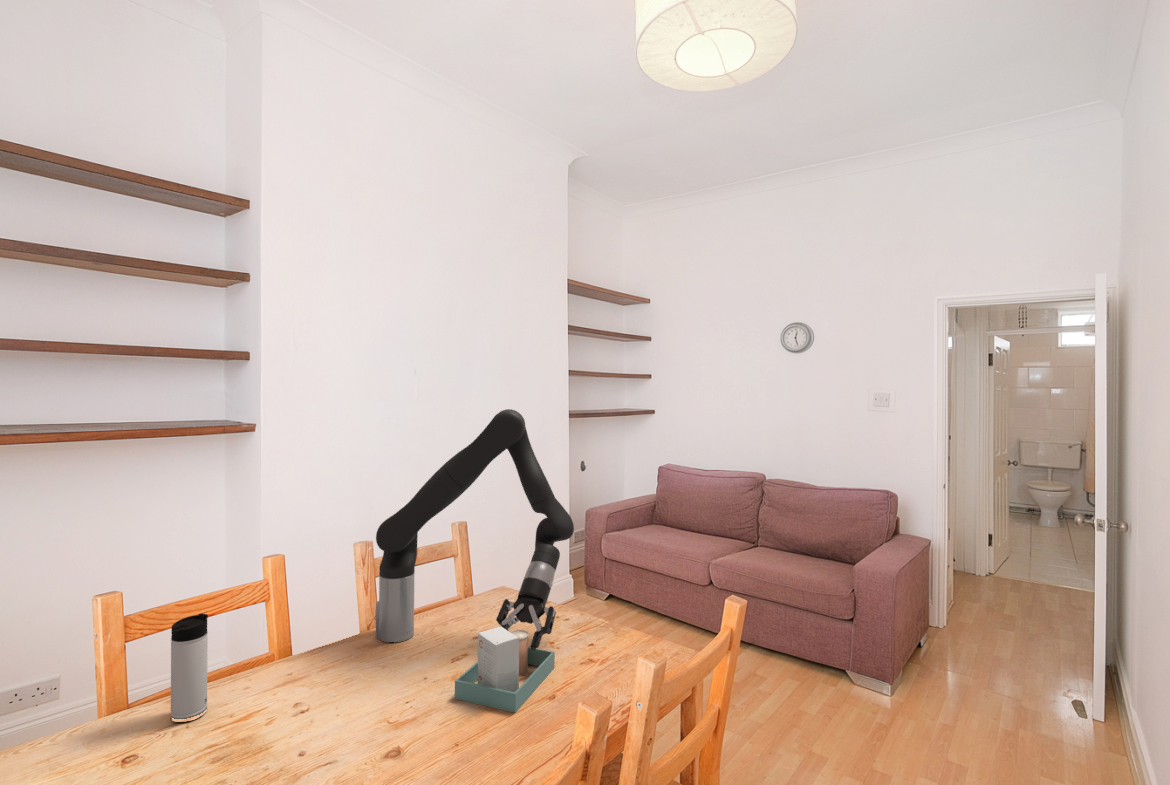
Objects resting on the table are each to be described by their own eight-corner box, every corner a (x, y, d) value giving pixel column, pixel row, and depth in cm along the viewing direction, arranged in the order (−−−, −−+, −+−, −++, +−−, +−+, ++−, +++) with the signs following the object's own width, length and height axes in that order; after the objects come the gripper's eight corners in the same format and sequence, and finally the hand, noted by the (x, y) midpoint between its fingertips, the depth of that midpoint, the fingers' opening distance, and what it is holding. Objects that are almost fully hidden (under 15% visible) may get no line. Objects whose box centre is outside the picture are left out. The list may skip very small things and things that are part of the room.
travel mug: (215, 709, 122) (216, 615, 122) (185, 726, 116) (185, 627, 116) (194, 703, 124) (194, 611, 124) (163, 720, 118) (163, 623, 118)
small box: (519, 695, 130) (520, 637, 130) (494, 704, 126) (495, 645, 126) (500, 680, 136) (501, 625, 136) (476, 689, 132) (477, 632, 132)
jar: (506, 673, 140) (506, 636, 139) (514, 665, 144) (515, 629, 144) (522, 676, 138) (523, 639, 138) (530, 668, 142) (531, 631, 142)
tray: (454, 698, 128) (454, 680, 128) (500, 657, 148) (500, 641, 148) (515, 712, 123) (515, 694, 123) (554, 667, 142) (554, 651, 142)
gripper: (508, 572, 150) (485, 634, 139) (558, 580, 145) (539, 644, 134) (517, 586, 155) (495, 647, 144) (566, 594, 150) (548, 657, 140)
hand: (516, 645), depth 139 cm, fingers open, 8 cm apart
